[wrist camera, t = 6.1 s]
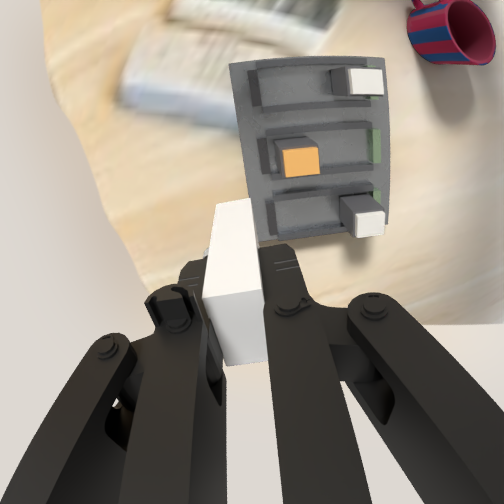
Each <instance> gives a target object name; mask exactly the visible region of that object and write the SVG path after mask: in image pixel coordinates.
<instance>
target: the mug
mask: <svg viewBox="0 0 504 504" xmlns="http://www.w3.org/2000/svg"><path fill="white" fill-rule="evenodd" d="M412 2H413V4H414V6H415V8H416V9H414V10H413V11H412V12H411V13H410V14H409V17H408V20H407V32H408V36H409V39H410V41H411V43H412V45H413V47H414V48H415V49H416V51H417V52H418V53H419V54H420V55H421V56H422V57H423V58H424V59H426V60H427V61H429V62H431V63H434V64H463V65H486V64H488V63H489V62H490V61H491V60H492V59H493V57H494V54H495V49H496V40H495V35H494V31H493V28H492V26H491V24H490V22H489V20H488V18H487V17H486V15H485V14H484V12H483V11H482V10H481V9H480V8H479V7H478V6H477V5H476V4H475V3H473V2H472V1H470V0H439V1H438V2H434V3H431V4H428V5H424V4H423V3H422V2H421V1H420V0H412Z"/></svg>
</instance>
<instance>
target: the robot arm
mask: <svg viewBox="0 0 504 504" xmlns="http://www.w3.org/2000/svg"><path fill="white" fill-rule="evenodd" d="M144 304H145V306H146V308H147V310H148V312H149V314H150V316H151V318H152V321H153V323H154V325H155V331H154V334H152V335H150V336H147V337H145V338H142V339H139V340H136V341H133V342H131V343H130V341H129V340H128V338H127V337H126V336H125V335H123V334H120V333H110V334H107V335H104V336H102V337H101V338H99V339H98V340H96V341H95V342H94V343H93V345H92V346H91V347H90V348H89V350H88V351H87V353H86V354H85V356H84V357H83V359H82V360H81V362H80V363H79V365H78V366H77V368H76V369H75V371H74V372H73V374H72V375H71V377H70V378H69V380H68V381H67V383H66V385H65V386H64V388H63V389H62V391H61V392H60V394H59V396H58V397H57V399H56V400H55V402H54V404H53V405H52V407H51V409H50V410H49V412H48V414H47V415H46V417H45V419H44V420H43V422H42V424H41V425H40V427H39V429H38V431H37V432H36V434H35V436H34V437H33V439H32V441H31V443H30V445H29V446H28V448H27V450H26V452H25V454H24V456H23V457H22V459H21V461H20V463H19V465H18V467H17V469H16V471H15V473H14V475H13V477H12V479H11V481H10V483H9V485H8V487H7V489H6V491H5V493H4V495H3V497H2V499H1V502H0V504H227V460H226V377H225V374H224V372H223V369H222V367H223V359H224V361H225V364H226V366H234V365H242V364H250V363H256V362H263V361H268V363H269V373H270V382H271V391H272V400H273V410H274V419H275V428H276V438H277V448H278V457H279V466H280V476H281V486H282V496H283V504H372V501H371V497H370V492H369V489H368V484H367V480H366V475H365V472H364V467H363V463H362V460H361V456H360V452H359V448H358V444H357V441H356V437H355V433H354V430H353V426H352V422H351V418H350V415H349V411H348V408H347V404H346V401H345V397H344V394H343V390H342V387H341V384H340V381H345V383H346V384H347V386H348V388H349V389H350V391H351V392H352V394H353V395H354V397H355V398H356V400H357V401H358V403H359V404H360V406H361V407H362V409H363V410H364V412H365V413H366V415H367V416H368V418H369V420H370V421H371V423H372V424H373V425H374V427H375V429H376V430H377V432H378V433H379V435H380V436H381V438H382V439H383V441H384V442H385V444H386V445H387V447H388V449H389V450H390V452H391V453H392V455H393V456H394V458H395V459H396V461H397V462H398V464H399V465H400V467H401V468H402V470H403V471H404V473H405V474H406V476H407V478H408V479H409V481H410V482H411V483H412V485H413V487H414V488H415V490H416V491H417V493H418V494H419V496H420V498H421V499H422V501H423V502H424V504H504V412H503V411H502V409H501V408H500V407H499V406H498V405H497V404H496V402H494V400H493V399H492V398H491V397H490V396H489V395H488V394H487V392H486V391H485V390H484V389H483V388H482V387H481V386H480V385H479V384H478V383H477V382H476V380H475V379H474V378H473V377H471V375H470V374H469V373H468V372H467V371H466V370H465V369H464V368H463V367H462V366H461V365H460V364H459V362H458V361H457V360H456V359H455V358H454V357H453V356H452V355H451V354H450V353H449V352H448V351H447V350H446V349H445V348H444V347H443V346H442V345H441V344H440V343H439V342H438V341H437V340H436V339H435V338H434V337H433V336H432V335H431V334H430V333H429V332H428V331H427V330H426V329H425V328H424V327H423V326H422V325H421V324H420V323H419V322H418V321H417V320H416V319H415V318H414V317H413V316H411V315H410V314H409V313H408V312H407V311H406V310H405V309H404V308H403V307H402V306H401V305H400V304H399V303H398V302H397V301H396V300H394V299H393V298H391V297H390V296H388V295H385V294H381V293H365V294H361V295H359V296H357V297H355V298H354V299H352V301H351V302H350V303H349V305H348V308H335V307H327V306H324V305H320V304H319V303H317V302H315V301H314V300H313V298H312V297H311V296H310V295H309V294H308V291H307V288H306V285H305V281H304V278H303V275H302V272H301V269H300V267H299V263H298V260H297V257H296V254H295V251H294V249H292V248H291V247H290V246H288V245H287V244H280V245H274V246H269V247H263V248H260V247H259V241H258V236H257V230H256V225H255V220H254V214H253V209H252V204H251V198H246V199H241V200H235V201H230V202H225V203H220V204H216V210H215V216H214V222H213V228H212V234H211V240H210V247H209V253H208V258H206V259H200V260H194V261H189V262H188V263H187V264H186V265H185V266H184V267H183V269H182V270H181V272H180V276H179V281H178V283H177V284H171V285H167V286H163V287H161V288H160V289H158V290H156V291H154V292H153V293H152V294H151V295H150V296H148V298H147V299H146V301H145V303H144ZM116 398H117V399H118V401H119V402H118V403H117V405H116V406H115V407H112V405H113V404H114V402H115V400H116Z"/></svg>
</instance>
